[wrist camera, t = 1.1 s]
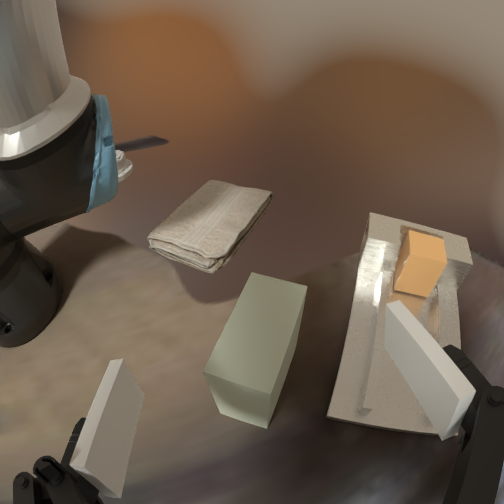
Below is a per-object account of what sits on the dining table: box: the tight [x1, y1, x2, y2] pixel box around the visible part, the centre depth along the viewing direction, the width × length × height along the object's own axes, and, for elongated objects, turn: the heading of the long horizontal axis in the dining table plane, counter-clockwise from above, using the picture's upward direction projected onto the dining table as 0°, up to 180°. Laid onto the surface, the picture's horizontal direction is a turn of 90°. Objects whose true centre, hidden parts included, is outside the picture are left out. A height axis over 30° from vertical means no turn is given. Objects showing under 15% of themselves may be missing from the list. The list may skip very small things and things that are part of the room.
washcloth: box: [147, 180, 274, 273], centre depth 44 cm, size 12×18×3 cm, turn 155°
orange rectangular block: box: [394, 230, 447, 298], centre depth 32 cm, size 5×4×6 cm
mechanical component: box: [115, 150, 134, 182], centre depth 56 cm, size 10×4×10 cm
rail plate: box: [326, 213, 473, 437], centre depth 29 cm, size 14×24×6 cm, turn 160°
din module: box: [203, 272, 307, 429], centre depth 24 cm, size 4×9×10 cm, turn 160°
